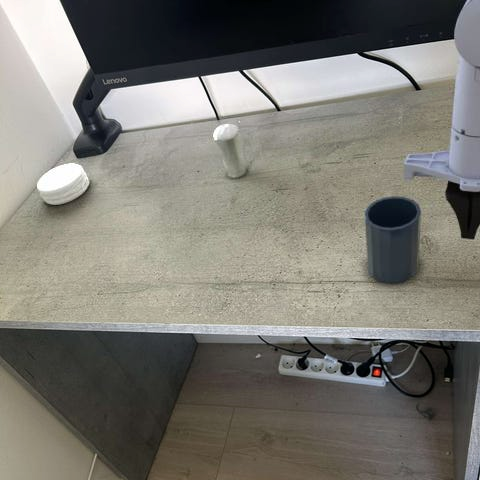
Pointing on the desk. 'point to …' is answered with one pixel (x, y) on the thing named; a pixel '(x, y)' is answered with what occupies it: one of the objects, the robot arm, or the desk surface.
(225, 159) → the milkshake
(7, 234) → the desk surface
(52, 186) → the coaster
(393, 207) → the tumbler
